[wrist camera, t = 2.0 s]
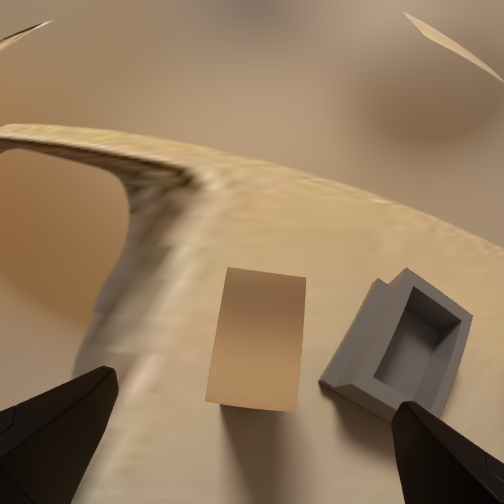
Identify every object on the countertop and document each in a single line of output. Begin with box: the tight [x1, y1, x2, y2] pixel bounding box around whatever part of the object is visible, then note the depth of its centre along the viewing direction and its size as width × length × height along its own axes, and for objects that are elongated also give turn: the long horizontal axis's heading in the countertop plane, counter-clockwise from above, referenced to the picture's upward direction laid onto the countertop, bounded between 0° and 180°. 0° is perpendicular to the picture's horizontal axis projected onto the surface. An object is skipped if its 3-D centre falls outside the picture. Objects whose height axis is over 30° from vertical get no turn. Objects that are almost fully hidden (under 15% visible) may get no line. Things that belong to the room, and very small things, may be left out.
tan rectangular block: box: [205, 267, 306, 412], centre depth 14 cm, size 5×3×10 cm, turn 173°
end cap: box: [319, 268, 473, 423], centre depth 17 cm, size 9×9×4 cm
